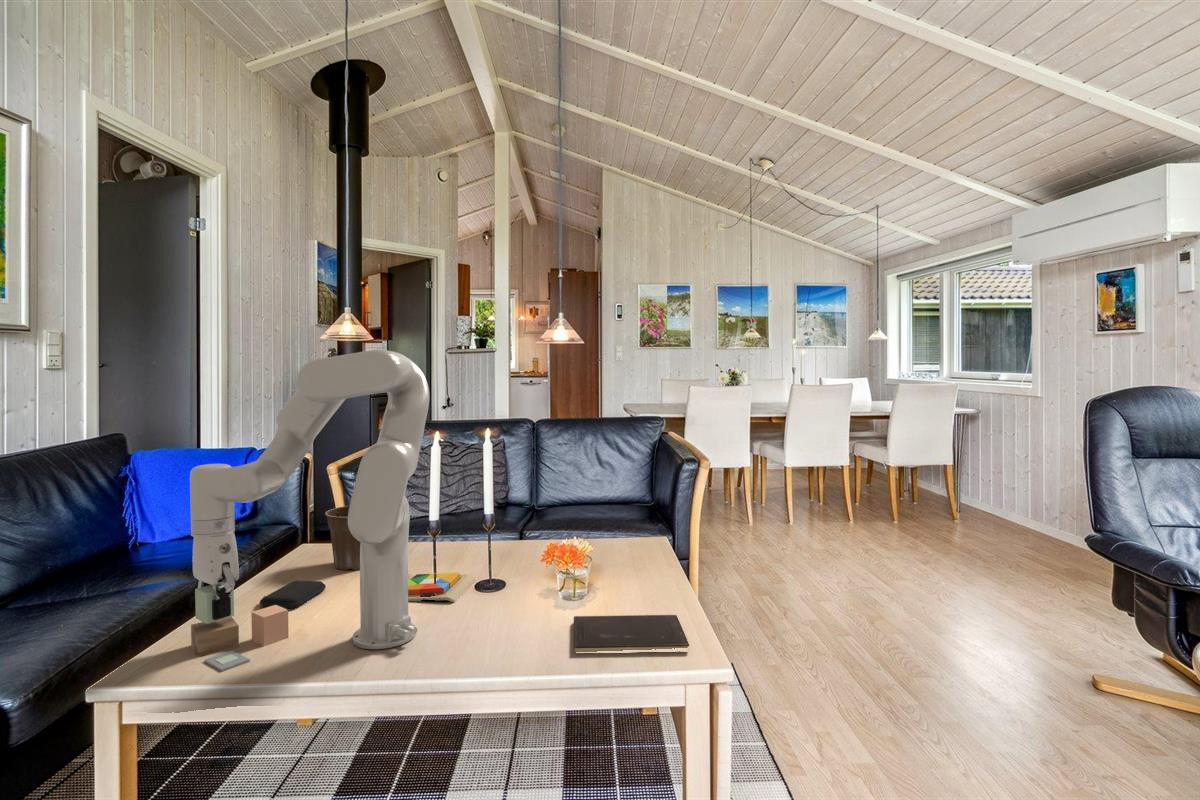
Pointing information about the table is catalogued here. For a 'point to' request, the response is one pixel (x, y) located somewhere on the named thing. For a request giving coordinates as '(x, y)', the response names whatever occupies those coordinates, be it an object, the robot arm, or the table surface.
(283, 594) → the carrying case or bag
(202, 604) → the sage block
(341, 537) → the plant pot
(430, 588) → the wooden puzzle
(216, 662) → the card
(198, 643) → the walnut base
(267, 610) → the terracotta block
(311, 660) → the table surface
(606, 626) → the hardcover book
